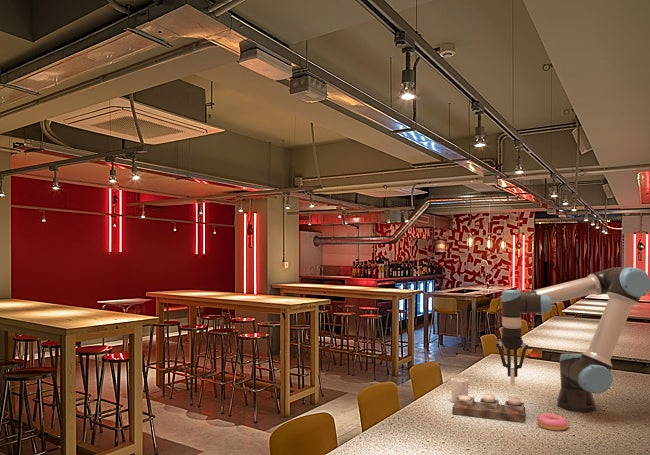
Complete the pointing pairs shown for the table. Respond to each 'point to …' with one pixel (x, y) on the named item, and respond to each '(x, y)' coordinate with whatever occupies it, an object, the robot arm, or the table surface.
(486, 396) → the button mid
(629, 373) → the table surface
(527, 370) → the table surface
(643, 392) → the table surface
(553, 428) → the doughnut
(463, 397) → the button far
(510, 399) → the button near
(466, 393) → the tan paper cup
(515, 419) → the panel
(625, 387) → the table surface
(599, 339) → the robot arm
